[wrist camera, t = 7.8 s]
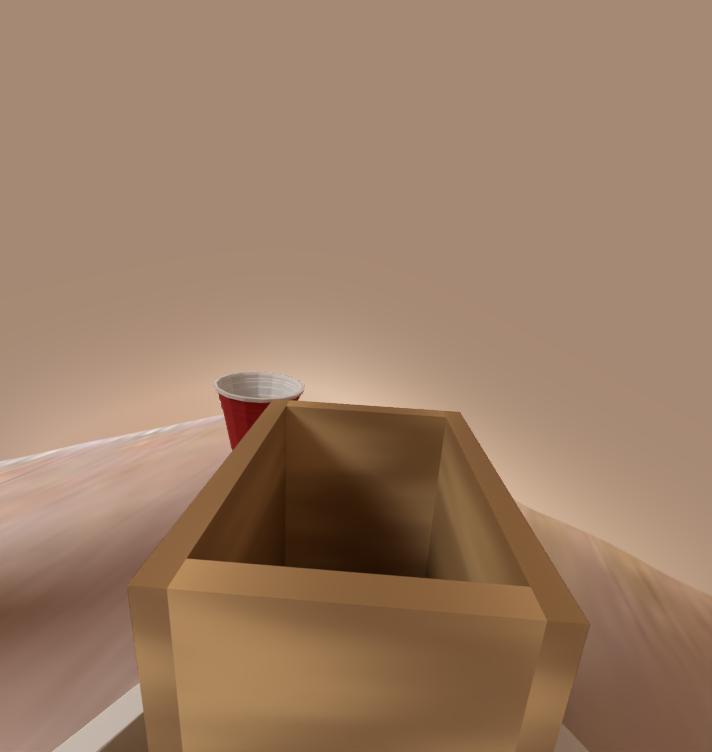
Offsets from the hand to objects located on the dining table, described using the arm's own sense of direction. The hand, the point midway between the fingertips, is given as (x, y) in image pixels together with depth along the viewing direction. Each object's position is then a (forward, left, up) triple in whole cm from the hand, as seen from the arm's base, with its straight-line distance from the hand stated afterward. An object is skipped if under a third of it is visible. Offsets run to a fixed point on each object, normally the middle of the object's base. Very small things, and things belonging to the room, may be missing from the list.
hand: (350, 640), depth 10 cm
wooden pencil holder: (0, -1, -8) cm, 8 cm away
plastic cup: (0, +38, -16) cm, 41 cm away
